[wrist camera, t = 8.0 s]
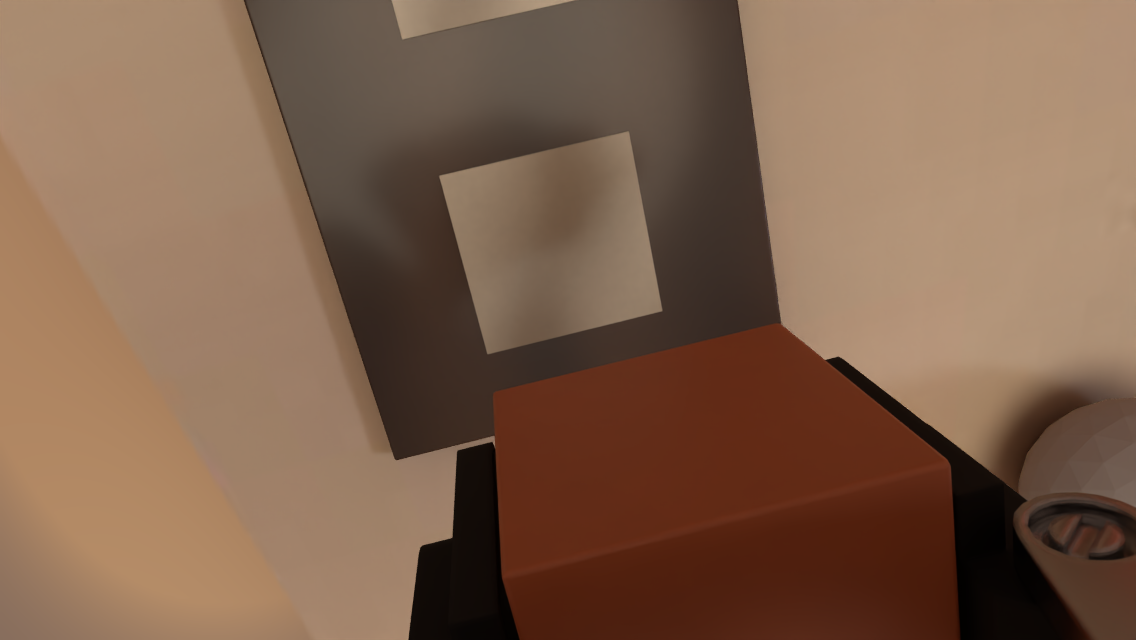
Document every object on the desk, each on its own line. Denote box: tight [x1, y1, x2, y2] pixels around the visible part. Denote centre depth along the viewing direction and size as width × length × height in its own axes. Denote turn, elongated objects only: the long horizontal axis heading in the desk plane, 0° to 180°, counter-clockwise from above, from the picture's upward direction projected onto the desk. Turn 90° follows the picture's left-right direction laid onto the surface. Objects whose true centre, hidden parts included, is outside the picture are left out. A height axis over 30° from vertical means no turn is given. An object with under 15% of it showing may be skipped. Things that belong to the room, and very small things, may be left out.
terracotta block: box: [493, 323, 961, 640], centre depth 10 cm, size 4×4×4 cm
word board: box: [244, 0, 781, 460], centre depth 23 cm, size 14×22×1 cm, turn 12°
